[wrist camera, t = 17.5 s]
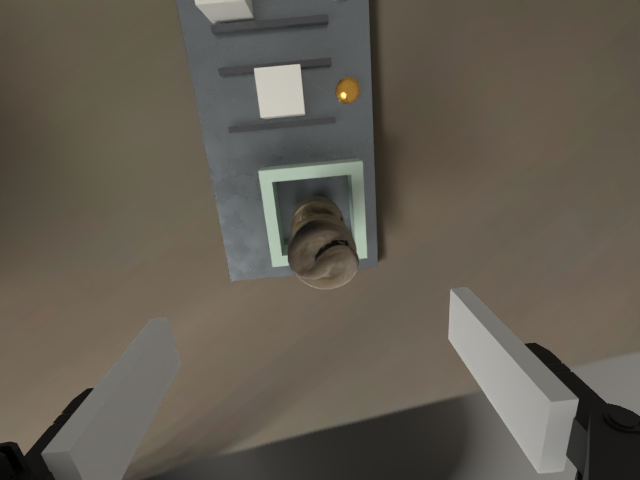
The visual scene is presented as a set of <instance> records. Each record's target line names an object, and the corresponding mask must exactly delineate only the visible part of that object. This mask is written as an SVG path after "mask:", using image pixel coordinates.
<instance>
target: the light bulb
mask: <svg viewBox="0 0 640 480" xmlns="http://www.w3.org/2000/svg"><path fill="white" fill-rule="evenodd" d="M290 228H291V236H290V240H289V245H288V263H289V266H290V268H291V270H292V272H294V273H295V275H296V276H297V277H298V278H299V279H300V280H301V281H302V282H303V283H305V284H307V285H309V286H311V287H314V288H318V289H333V288H337V287H341V286H343V285H345V284H346V283H348V282H349V281H350V280H351V279H352V278H353V277H354V276H355V274H356V272H357V270H358V267H359V258H358V254H357V248H356V243H355V241H354V239H353V238H352V236H351V234H350V232H349V230H348V228H347V226H346V225H345V220H344V217H343V215H342V213H341V211H340V209H339V208H338V206H337V205H336V204H335V203H334V202H333V201H332V200H330V199H328V198H326V197H323V196H311V197H308V198H305V199H304V200H302V201H300V202H299V203H298V204H297V205H296V207H295V208H294V211H293V213H292V217H291V222H290Z"/></svg>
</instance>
